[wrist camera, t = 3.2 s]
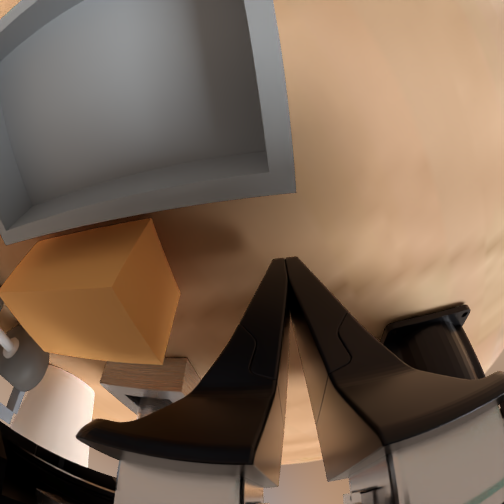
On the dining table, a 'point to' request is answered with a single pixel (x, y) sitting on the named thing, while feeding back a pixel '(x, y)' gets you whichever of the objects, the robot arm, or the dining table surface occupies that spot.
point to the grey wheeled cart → (20, 366)
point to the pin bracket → (149, 381)
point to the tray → (137, 110)
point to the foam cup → (57, 414)
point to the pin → (151, 405)
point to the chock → (97, 294)
